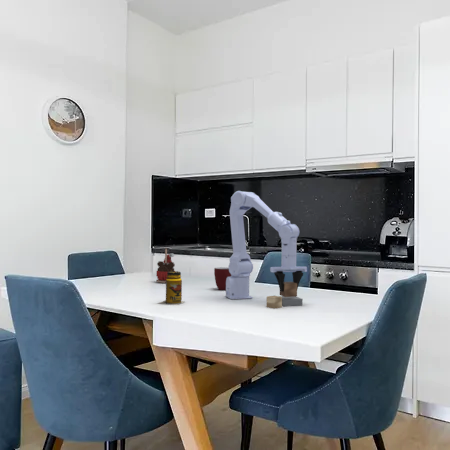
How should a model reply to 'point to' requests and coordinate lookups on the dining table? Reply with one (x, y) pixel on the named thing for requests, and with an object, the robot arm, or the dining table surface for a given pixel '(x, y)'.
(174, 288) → the condiment
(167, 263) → the cake
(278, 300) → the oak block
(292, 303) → the slate base
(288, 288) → the walnut cube
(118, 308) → the dining table surface
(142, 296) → the dining table surface
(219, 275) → the mug
